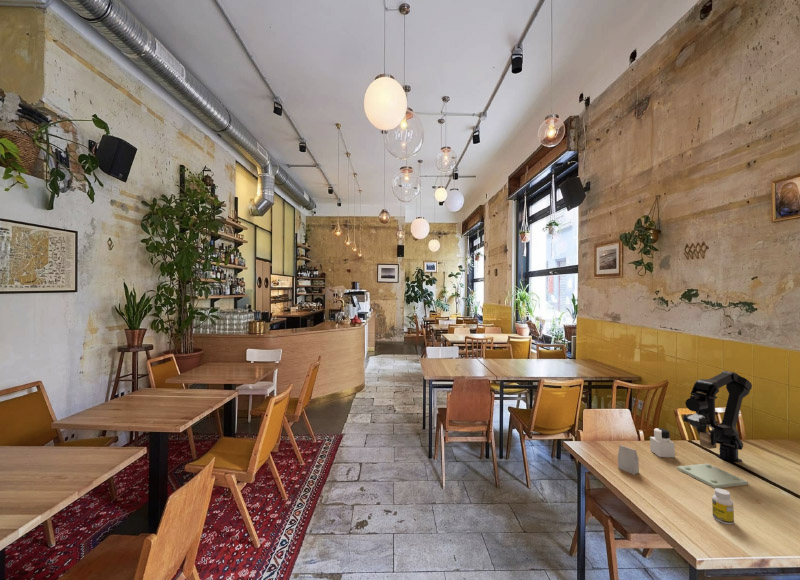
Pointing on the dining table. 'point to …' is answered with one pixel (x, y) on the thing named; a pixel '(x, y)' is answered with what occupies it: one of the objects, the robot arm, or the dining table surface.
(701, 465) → the baseplate
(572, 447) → the dining table surface
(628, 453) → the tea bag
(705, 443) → the brown rectangular block
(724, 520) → the supplement bottle
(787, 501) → the dining table surface
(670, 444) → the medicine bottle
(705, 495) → the dining table surface
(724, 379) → the robot arm
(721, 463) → the dining table surface
